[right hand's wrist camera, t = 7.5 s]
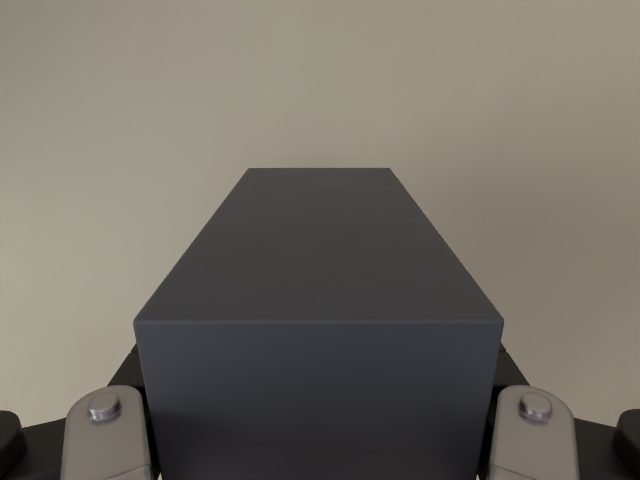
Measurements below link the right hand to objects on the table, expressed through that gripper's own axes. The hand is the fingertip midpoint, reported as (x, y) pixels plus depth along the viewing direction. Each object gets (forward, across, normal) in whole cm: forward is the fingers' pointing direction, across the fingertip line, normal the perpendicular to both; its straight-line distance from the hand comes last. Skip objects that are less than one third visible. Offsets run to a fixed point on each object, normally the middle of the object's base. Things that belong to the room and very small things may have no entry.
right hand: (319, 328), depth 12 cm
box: (+8, 0, -10) cm, 12 cm away
